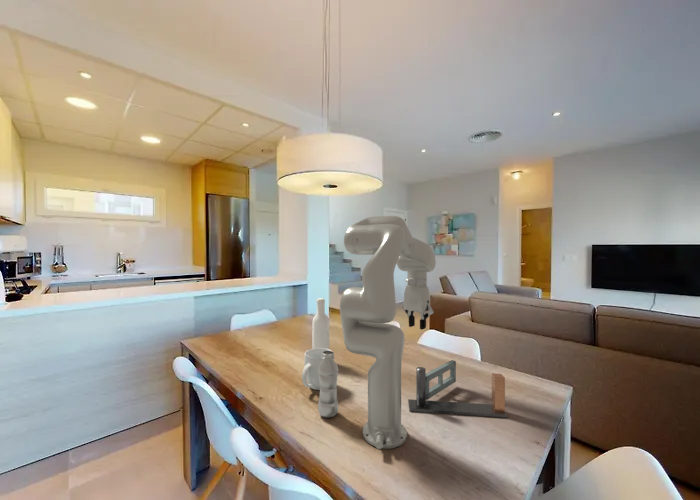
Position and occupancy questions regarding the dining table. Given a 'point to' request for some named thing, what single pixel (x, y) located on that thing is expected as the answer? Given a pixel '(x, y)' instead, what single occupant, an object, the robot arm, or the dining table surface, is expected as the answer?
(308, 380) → the mug
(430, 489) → the dining table surface
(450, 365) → the gate
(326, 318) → the bottle
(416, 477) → the dining table surface
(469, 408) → the gate frame
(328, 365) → the plastic bottle
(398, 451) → the dining table surface
